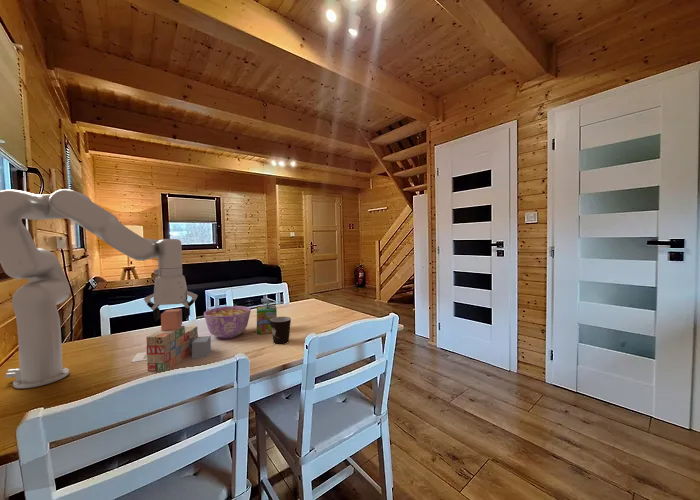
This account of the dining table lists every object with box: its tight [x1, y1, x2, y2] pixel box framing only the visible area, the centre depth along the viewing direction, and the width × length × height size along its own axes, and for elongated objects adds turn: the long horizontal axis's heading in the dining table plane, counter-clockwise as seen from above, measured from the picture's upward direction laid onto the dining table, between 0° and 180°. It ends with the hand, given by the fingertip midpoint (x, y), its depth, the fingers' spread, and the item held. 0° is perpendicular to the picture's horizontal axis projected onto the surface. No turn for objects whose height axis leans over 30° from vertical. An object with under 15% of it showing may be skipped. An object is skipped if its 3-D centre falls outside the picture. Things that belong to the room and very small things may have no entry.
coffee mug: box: [270, 316, 292, 345], centre depth 131 cm, size 12×9×10 cm
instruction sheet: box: [131, 351, 147, 363], centre depth 116 cm, size 12×9×1 cm
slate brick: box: [191, 335, 212, 359], centre depth 117 cm, size 5×7×6 cm
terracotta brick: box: [160, 308, 183, 331], centre depth 111 cm, size 5×7×6 cm
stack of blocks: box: [146, 325, 199, 372], centre depth 112 cm, size 21×6×12 cm, turn 179°
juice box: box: [256, 299, 278, 335], centre depth 145 cm, size 9×9×15 cm
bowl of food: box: [203, 305, 252, 339], centre depth 139 cm, size 20×20×12 cm
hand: (172, 318), depth 111 cm, fingers open, 9 cm apart
